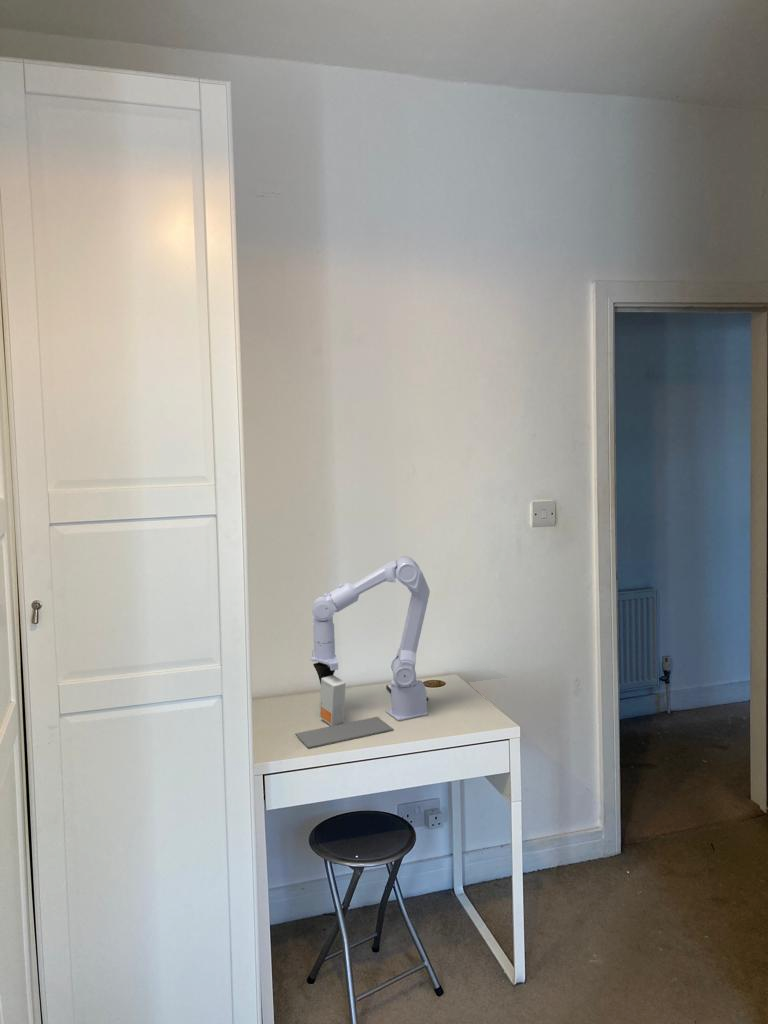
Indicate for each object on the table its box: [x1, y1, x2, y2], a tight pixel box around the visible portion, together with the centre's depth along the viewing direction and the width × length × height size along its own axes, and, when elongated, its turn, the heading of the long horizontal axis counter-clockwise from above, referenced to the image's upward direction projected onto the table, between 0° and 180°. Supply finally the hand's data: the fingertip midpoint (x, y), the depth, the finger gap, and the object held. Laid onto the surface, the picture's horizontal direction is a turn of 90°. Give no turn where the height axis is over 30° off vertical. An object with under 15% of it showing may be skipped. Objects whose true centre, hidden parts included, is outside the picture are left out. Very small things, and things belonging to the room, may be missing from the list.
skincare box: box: [319, 674, 346, 726], centre depth 212 cm, size 6×4×12 cm
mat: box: [294, 716, 394, 750], centre depth 206 cm, size 24×10×1 cm, turn 116°
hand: (325, 688), depth 216 cm, fingers closed
